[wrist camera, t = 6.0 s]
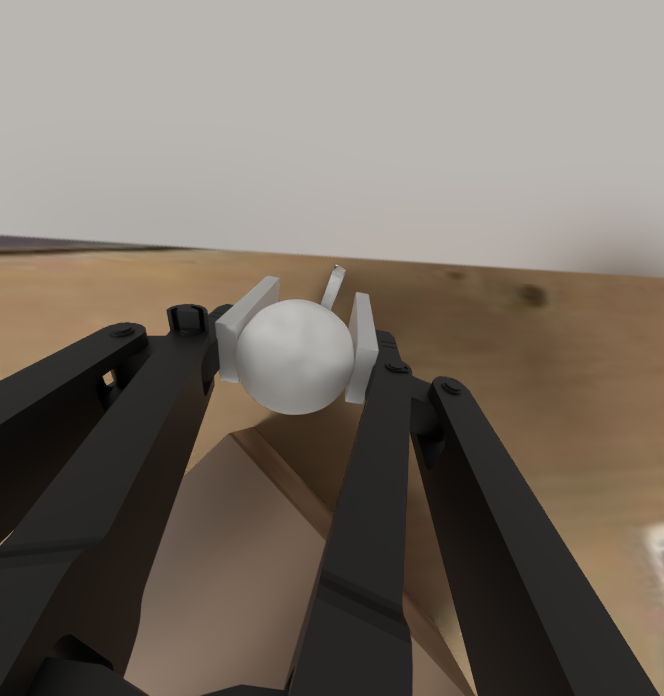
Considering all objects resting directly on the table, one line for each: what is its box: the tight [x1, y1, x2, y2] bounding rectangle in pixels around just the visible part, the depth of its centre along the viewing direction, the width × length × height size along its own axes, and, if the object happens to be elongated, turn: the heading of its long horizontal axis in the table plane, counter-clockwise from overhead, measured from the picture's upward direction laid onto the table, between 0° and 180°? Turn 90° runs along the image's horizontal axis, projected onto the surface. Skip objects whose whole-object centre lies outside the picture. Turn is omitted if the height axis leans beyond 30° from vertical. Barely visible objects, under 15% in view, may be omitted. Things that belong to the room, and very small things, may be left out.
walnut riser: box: [124, 427, 475, 696], centre depth 12 cm, size 16×14×5 cm
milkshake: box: [235, 265, 355, 415], centre depth 13 cm, size 4×5×10 cm
